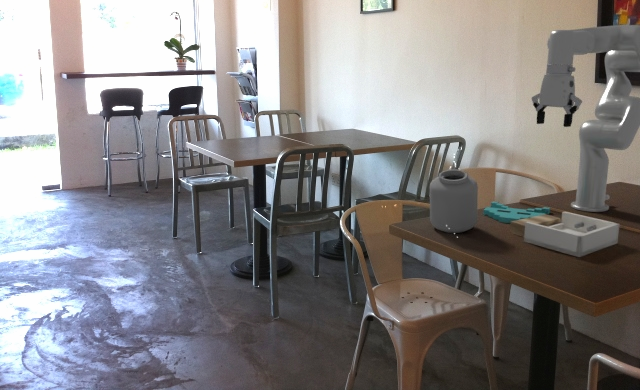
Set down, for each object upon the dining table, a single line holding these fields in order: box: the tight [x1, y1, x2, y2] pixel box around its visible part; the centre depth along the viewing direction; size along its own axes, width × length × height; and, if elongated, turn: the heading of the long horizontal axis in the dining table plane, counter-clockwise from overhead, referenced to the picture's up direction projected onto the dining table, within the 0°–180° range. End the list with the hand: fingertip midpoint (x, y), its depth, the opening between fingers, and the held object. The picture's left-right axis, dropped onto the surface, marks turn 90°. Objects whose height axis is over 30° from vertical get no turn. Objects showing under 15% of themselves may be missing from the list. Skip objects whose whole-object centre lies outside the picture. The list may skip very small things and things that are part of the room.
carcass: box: [523, 210, 620, 258], centre depth 188 cm, size 20×18×6 cm
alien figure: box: [482, 201, 551, 224], centre depth 217 cm, size 20×2×20 cm
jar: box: [429, 153, 479, 238], centre depth 199 cm, size 19×15×25 cm
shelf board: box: [509, 214, 562, 238], centre depth 200 cm, size 16×6×4 cm, turn 121°
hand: (553, 125), depth 202 cm, fingers open, 9 cm apart
